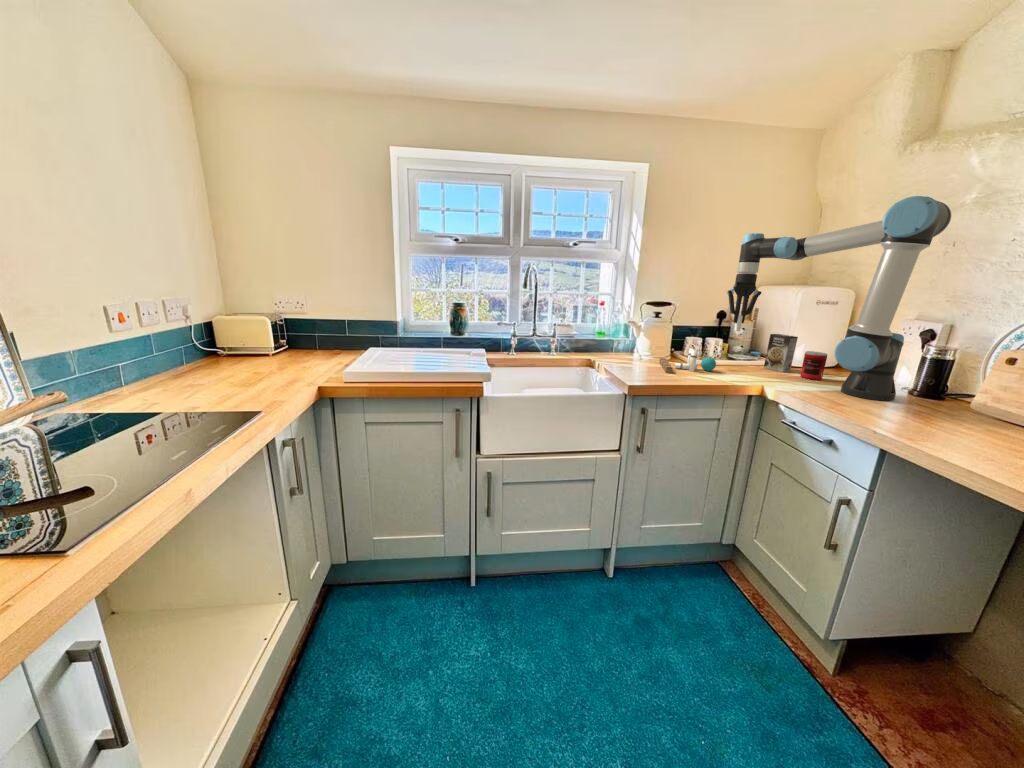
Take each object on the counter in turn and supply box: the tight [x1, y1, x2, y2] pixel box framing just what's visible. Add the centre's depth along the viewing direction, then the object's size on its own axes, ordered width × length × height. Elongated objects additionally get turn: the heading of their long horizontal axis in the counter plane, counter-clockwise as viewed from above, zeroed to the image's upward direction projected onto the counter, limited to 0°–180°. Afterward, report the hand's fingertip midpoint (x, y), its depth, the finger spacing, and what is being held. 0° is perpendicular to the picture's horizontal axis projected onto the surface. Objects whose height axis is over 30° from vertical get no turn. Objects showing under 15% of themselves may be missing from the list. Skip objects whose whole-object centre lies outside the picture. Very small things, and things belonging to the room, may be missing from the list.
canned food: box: [799, 350, 828, 381], centre depth 172 cm, size 8×8×11 cm
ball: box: [700, 357, 717, 372], centre depth 181 cm, size 6×6×6 cm
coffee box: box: [763, 333, 799, 373], centre depth 187 cm, size 9×6×16 cm
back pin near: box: [688, 349, 699, 372], centre depth 179 cm, size 2×2×9 cm
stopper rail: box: [658, 357, 673, 374], centre depth 184 cm, size 22×2×2 cm, turn 168°
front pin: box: [674, 362, 698, 371], centre depth 183 cm, size 2×2×9 cm
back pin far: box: [686, 347, 696, 364], centre depth 184 cm, size 2×2×9 cm
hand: (737, 330), depth 175 cm, fingers closed
